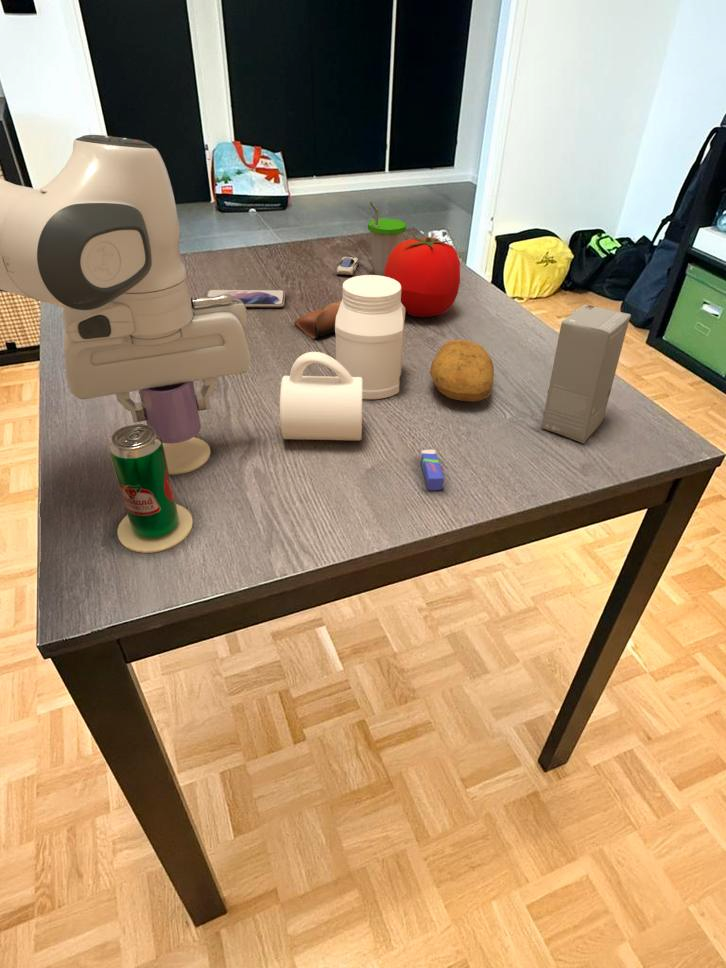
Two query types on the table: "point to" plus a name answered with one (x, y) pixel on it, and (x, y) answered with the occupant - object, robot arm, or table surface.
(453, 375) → the potato
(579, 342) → the cosmetic box
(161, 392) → the purple tumbler
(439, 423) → the table surface
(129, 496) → the soda can
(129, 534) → the coasters
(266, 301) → the smartphone
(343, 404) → the mug
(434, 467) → the eraser
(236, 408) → the table surface
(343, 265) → the toy car
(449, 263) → the tomato
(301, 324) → the sunglasses case
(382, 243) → the cup
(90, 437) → the table surface
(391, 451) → the table surface
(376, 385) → the jar
